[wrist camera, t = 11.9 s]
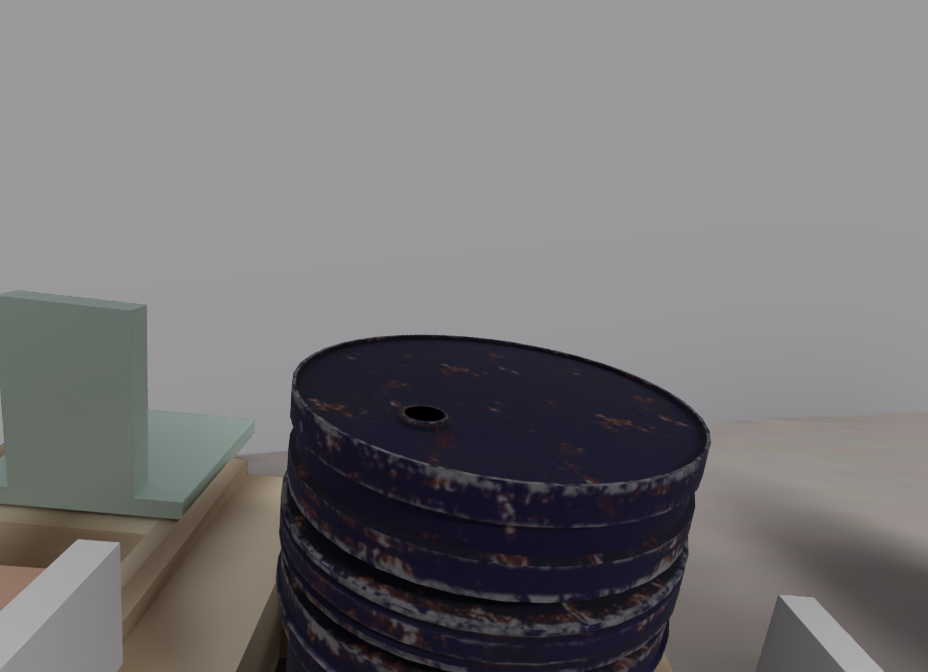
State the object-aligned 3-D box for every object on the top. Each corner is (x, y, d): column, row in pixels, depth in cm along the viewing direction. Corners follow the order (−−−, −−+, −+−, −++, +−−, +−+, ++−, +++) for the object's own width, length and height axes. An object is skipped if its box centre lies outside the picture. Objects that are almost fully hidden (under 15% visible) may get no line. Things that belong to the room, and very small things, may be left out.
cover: (254, 432, 32) (260, 283, 30) (182, 519, 23) (183, 316, 21) (94, 416, 31) (89, 263, 29) (-42, 499, 22) (-63, 289, 20)
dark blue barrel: (414, 660, 23) (456, 321, 20) (640, 824, 18) (749, 401, 15) (184, 875, 15) (188, 366, 12) (471, 1283, 10) (628, 578, 7)
